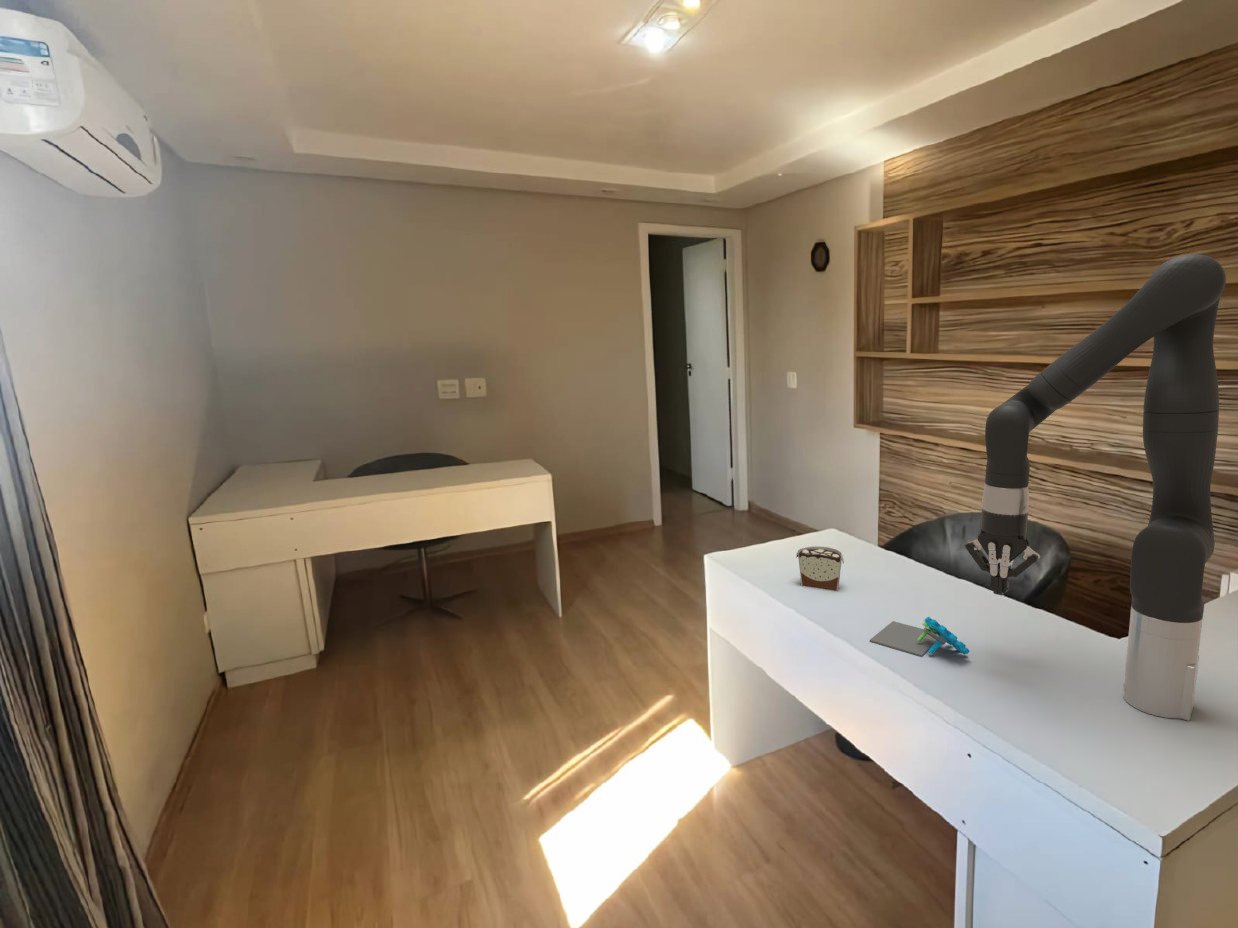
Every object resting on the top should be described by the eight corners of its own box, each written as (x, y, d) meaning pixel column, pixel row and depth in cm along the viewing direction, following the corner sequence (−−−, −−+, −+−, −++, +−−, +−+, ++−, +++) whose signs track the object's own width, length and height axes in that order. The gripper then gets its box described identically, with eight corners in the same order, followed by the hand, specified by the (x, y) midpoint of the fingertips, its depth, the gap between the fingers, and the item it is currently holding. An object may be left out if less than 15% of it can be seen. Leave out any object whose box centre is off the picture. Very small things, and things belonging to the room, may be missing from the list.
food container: (849, 584, 172) (849, 548, 170) (843, 592, 166) (843, 556, 165) (803, 578, 178) (802, 543, 176) (796, 585, 173) (795, 550, 171)
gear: (980, 657, 129) (952, 627, 126) (960, 678, 129) (932, 648, 126) (943, 633, 139) (917, 605, 137) (924, 653, 139) (897, 625, 137)
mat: (943, 635, 140) (943, 634, 140) (921, 656, 132) (921, 655, 132) (892, 622, 148) (892, 620, 148) (869, 641, 140) (869, 639, 140)
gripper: (1051, 508, 120) (1043, 595, 123) (973, 498, 129) (968, 579, 132) (1040, 518, 114) (1032, 608, 118) (960, 506, 124) (955, 591, 127)
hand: (999, 593), depth 125 cm, fingers closed
